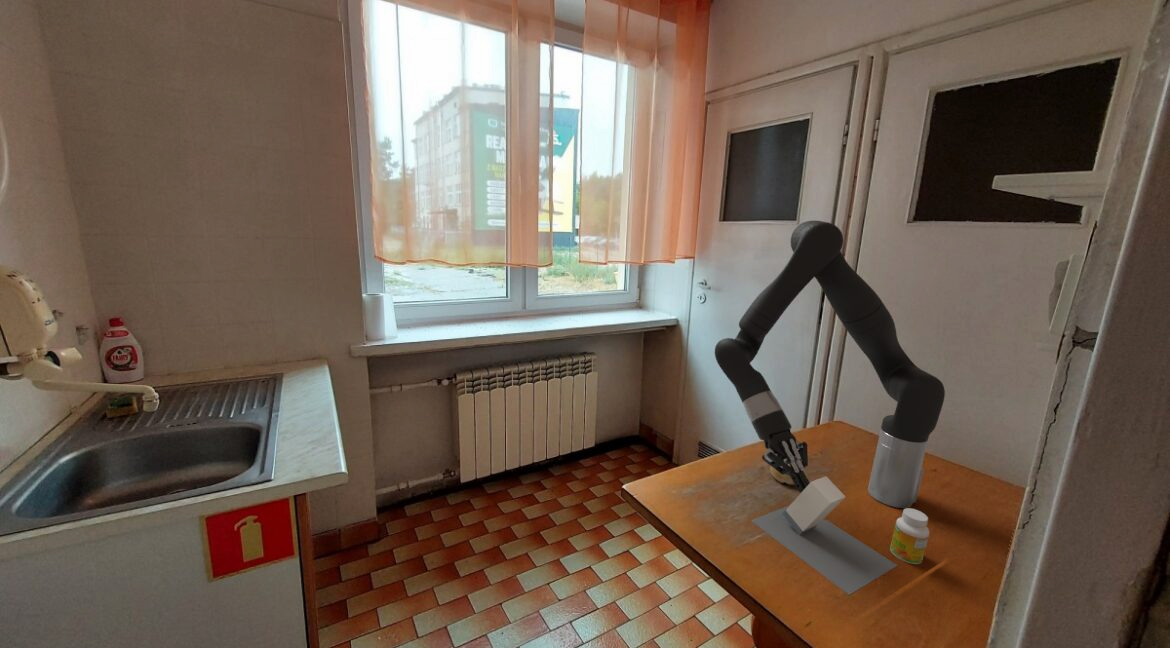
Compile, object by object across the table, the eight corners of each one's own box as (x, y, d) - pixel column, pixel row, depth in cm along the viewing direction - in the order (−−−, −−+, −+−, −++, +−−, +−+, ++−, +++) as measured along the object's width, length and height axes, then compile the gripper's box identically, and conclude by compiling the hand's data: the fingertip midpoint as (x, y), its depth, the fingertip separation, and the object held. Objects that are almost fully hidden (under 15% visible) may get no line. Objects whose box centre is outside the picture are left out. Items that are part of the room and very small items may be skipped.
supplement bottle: (883, 546, 91) (892, 505, 89) (907, 546, 92) (917, 505, 90) (903, 566, 86) (914, 523, 84) (928, 565, 87) (940, 523, 84)
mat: (750, 522, 97) (750, 520, 97) (797, 503, 105) (797, 501, 104) (848, 597, 78) (849, 594, 78) (897, 567, 86) (897, 565, 86)
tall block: (782, 513, 96) (811, 481, 90) (797, 507, 99) (826, 476, 92) (799, 535, 93) (830, 503, 86) (814, 528, 95) (845, 496, 89)
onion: (792, 493, 109) (796, 467, 107) (762, 478, 115) (766, 453, 113) (807, 482, 114) (811, 457, 112) (778, 468, 120) (781, 444, 118)
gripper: (757, 413, 95) (798, 494, 88) (796, 404, 102) (838, 478, 94) (735, 426, 101) (772, 502, 93) (774, 416, 107) (812, 487, 100)
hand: (805, 490), depth 94 cm, fingers closed
